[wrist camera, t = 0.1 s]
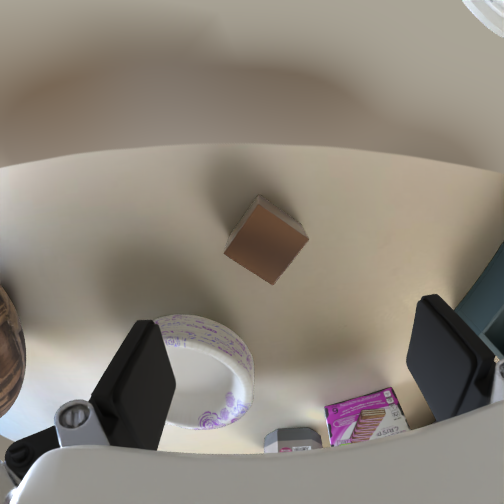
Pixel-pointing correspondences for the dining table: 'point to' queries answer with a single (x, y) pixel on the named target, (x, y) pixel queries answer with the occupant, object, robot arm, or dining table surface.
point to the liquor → (292, 440)
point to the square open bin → (487, 305)
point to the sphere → (10, 353)
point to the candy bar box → (365, 418)
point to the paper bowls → (206, 372)
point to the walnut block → (266, 240)
